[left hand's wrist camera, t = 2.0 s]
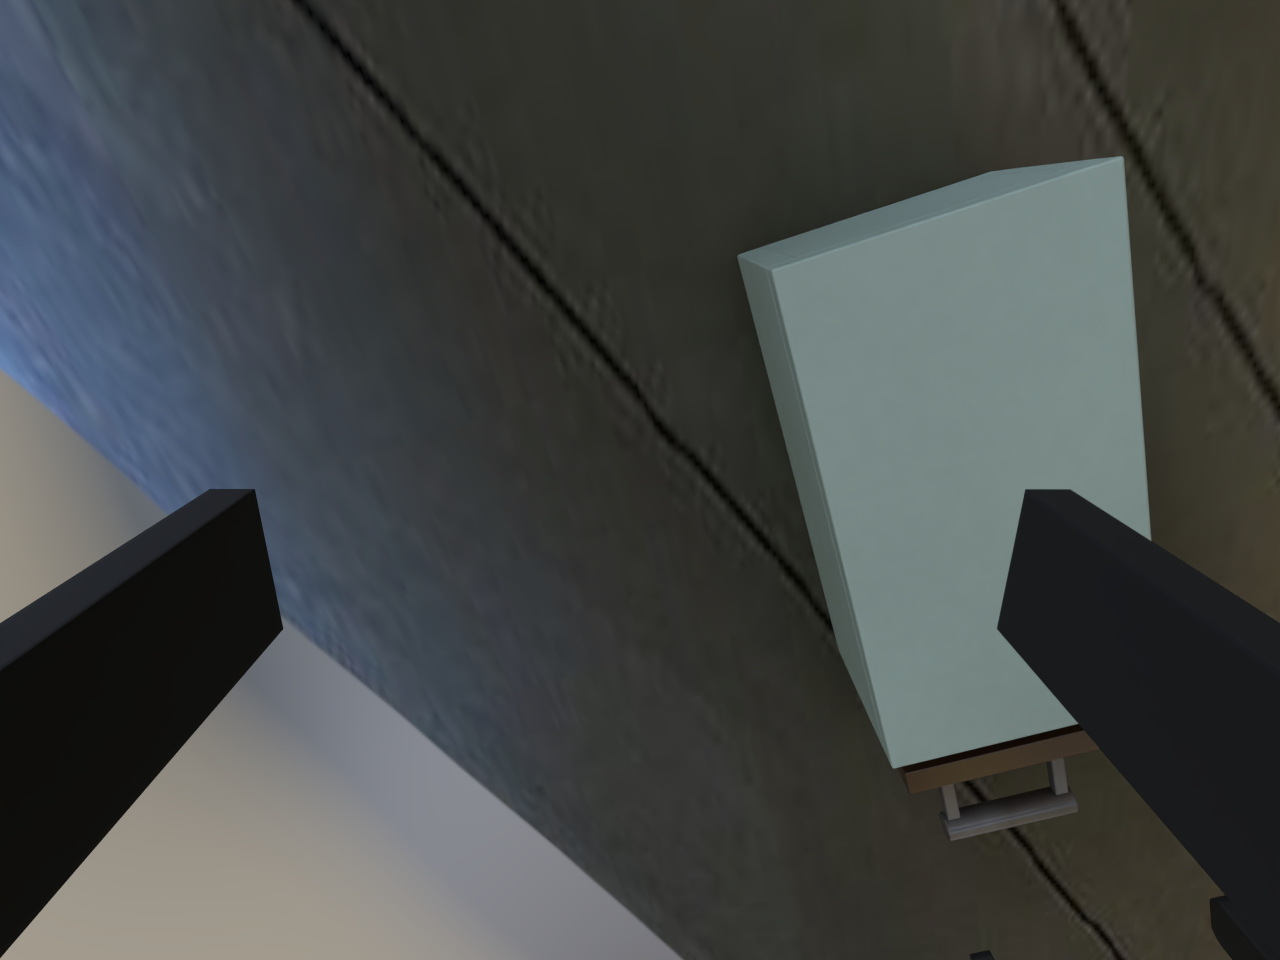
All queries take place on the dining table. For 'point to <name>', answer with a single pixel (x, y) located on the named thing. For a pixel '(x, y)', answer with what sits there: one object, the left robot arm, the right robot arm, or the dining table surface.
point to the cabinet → (952, 425)
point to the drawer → (999, 760)
